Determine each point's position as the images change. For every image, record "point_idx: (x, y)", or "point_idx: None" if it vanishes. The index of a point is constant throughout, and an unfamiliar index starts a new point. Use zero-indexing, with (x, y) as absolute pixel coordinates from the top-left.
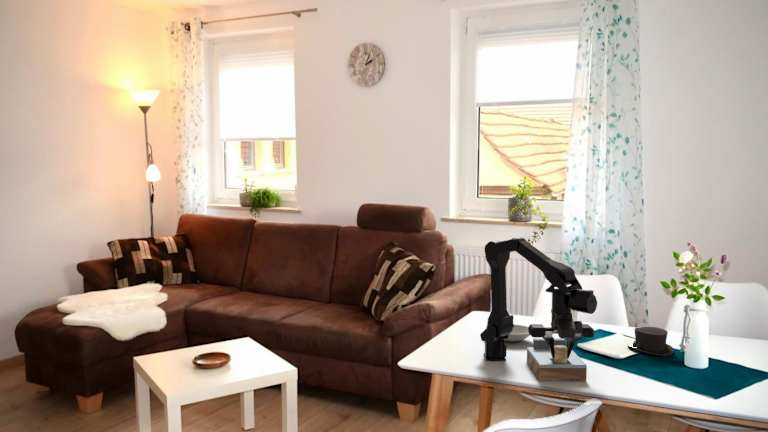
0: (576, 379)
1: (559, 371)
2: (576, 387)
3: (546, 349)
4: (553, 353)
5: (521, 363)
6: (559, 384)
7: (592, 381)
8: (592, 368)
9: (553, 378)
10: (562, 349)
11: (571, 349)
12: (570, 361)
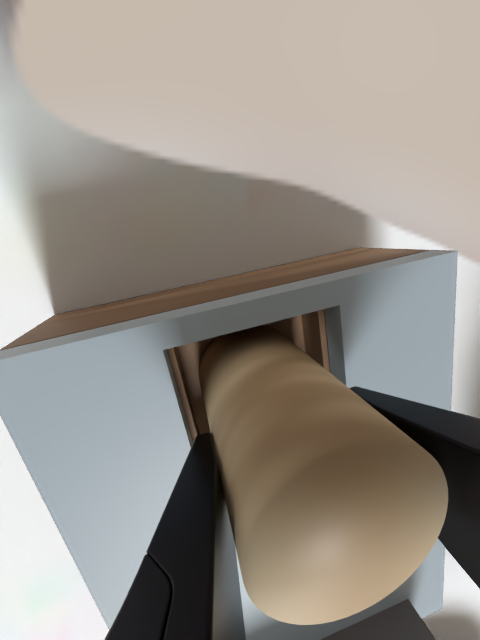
0: (126, 301)
1: (265, 282)
2: (129, 161)
3: (335, 627)
4: (394, 405)
5: None
6: (247, 210)
7: (4, 327)
8: (21, 572)
9: (287, 267)
10: (336, 441)
11: (163, 534)
12: (172, 425)
